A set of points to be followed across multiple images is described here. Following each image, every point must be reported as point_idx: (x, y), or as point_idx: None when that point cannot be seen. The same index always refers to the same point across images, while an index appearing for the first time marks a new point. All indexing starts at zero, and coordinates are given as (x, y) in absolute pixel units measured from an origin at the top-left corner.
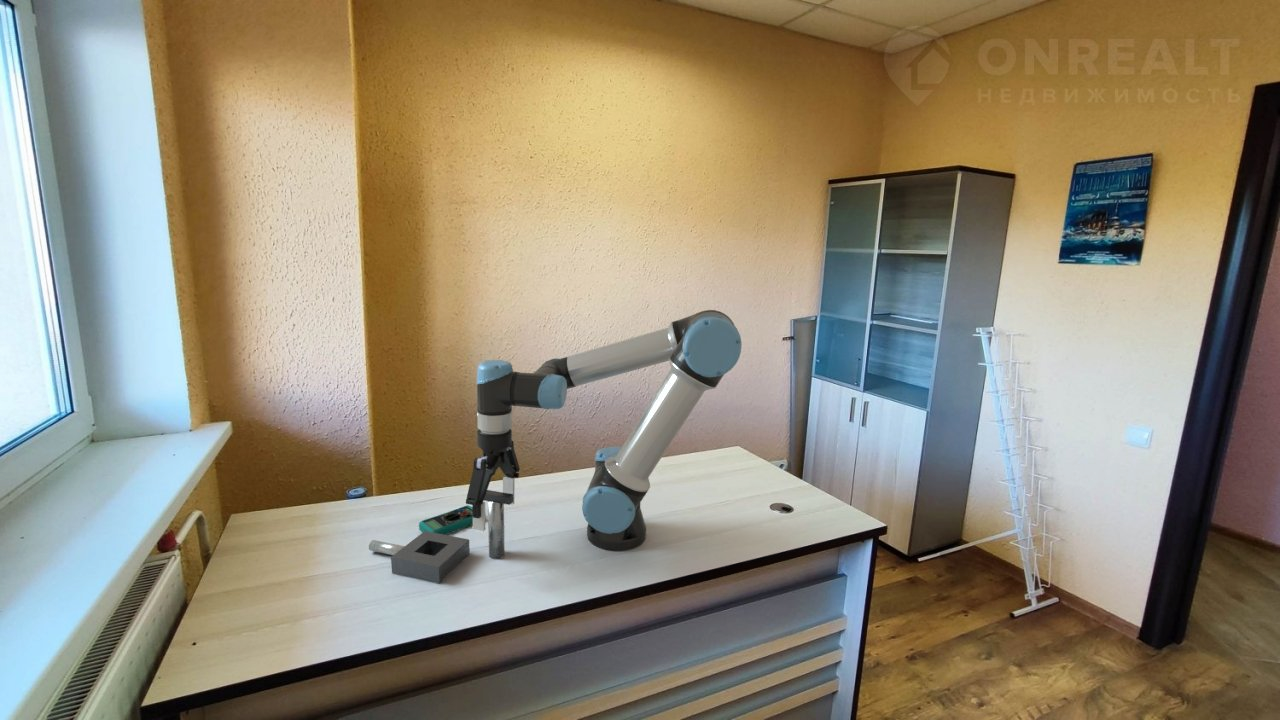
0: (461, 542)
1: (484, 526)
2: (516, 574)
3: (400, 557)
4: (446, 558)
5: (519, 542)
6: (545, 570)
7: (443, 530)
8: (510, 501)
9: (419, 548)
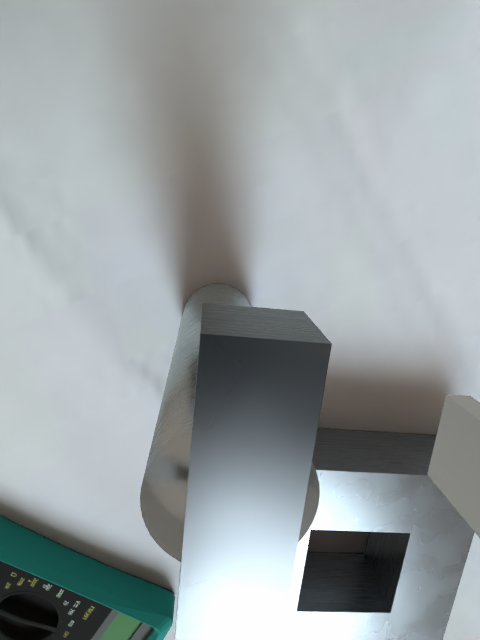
0: None
1: (476, 409)
2: (347, 168)
3: (436, 633)
4: (423, 481)
5: (81, 259)
6: (292, 29)
7: (131, 596)
8: (287, 319)
9: (355, 608)
